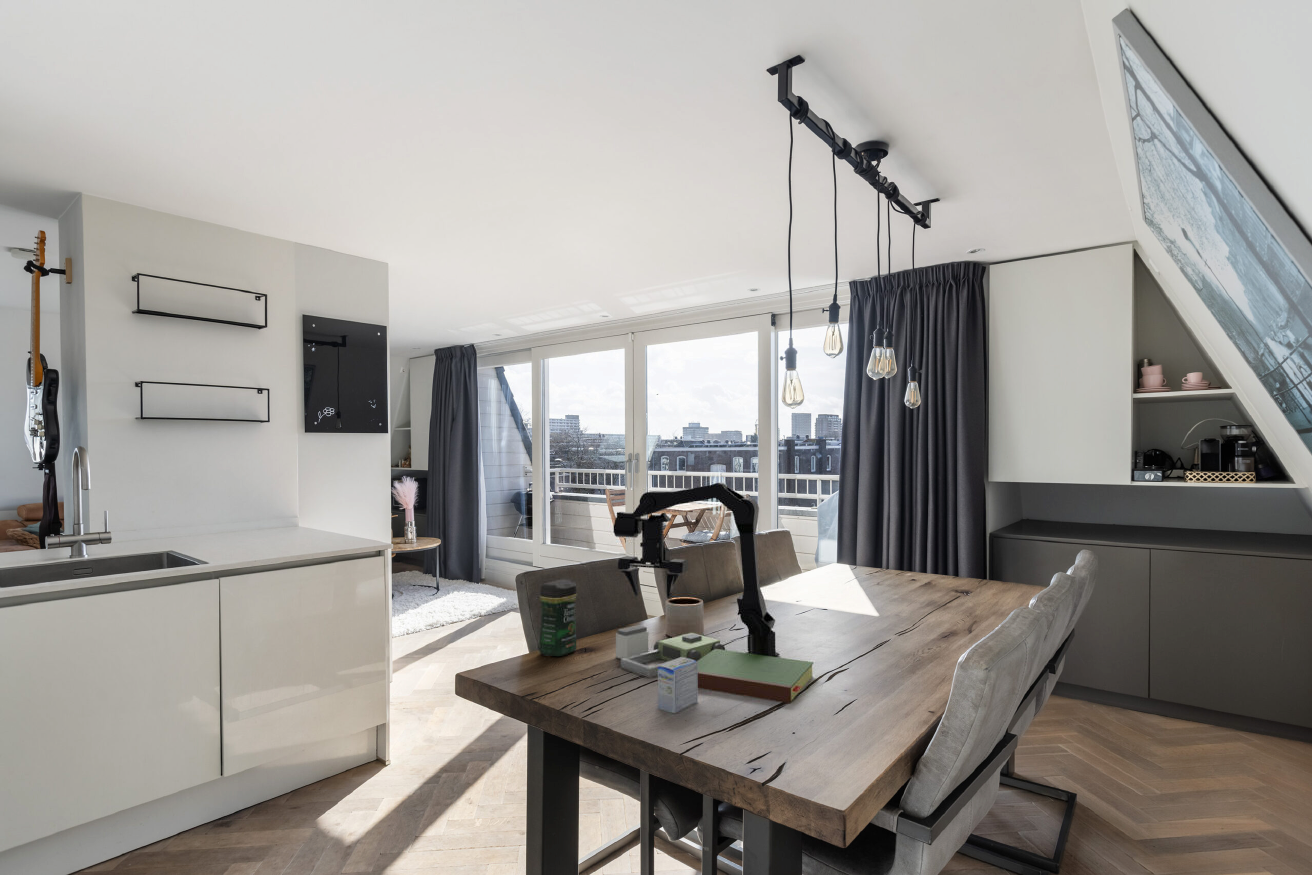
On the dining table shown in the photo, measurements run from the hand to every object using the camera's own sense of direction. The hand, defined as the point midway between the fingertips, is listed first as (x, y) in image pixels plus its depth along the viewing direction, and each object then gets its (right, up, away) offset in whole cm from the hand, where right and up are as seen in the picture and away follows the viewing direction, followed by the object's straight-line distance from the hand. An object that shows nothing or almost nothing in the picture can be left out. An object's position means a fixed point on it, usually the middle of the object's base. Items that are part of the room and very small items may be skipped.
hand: (652, 596), depth 177 cm
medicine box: (+5, -12, -43) cm, 45 cm away
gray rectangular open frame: (+1, -13, -17) cm, 22 cm away
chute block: (-5, -13, -9) cm, 16 cm away
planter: (+9, -14, +11) cm, 20 cm away
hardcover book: (+22, -13, -28) cm, 38 cm away
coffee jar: (-24, -13, -5) cm, 28 cm away
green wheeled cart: (+9, -13, -10) cm, 19 cm away
